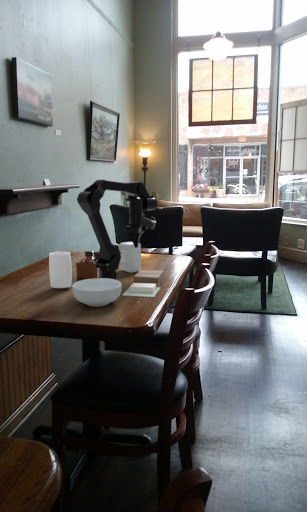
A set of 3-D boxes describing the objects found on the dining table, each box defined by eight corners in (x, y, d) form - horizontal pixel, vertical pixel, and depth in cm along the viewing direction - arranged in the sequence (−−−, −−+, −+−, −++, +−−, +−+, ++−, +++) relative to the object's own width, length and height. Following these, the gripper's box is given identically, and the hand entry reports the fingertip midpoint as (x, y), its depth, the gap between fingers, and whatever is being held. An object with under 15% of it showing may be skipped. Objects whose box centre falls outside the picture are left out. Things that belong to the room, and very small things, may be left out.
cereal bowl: (63, 303, 147) (62, 283, 146) (101, 294, 159) (101, 275, 158) (92, 314, 135) (92, 292, 134) (131, 303, 147) (131, 283, 146)
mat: (153, 297, 154) (153, 296, 154) (121, 295, 156) (121, 295, 156) (160, 287, 168) (160, 287, 168) (131, 286, 170) (131, 285, 170)
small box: (141, 271, 198) (141, 243, 196) (130, 272, 194) (130, 244, 192) (131, 268, 205) (130, 241, 202) (120, 270, 201) (119, 242, 198)
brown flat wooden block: (158, 287, 168) (158, 277, 167) (133, 286, 170) (133, 276, 169) (164, 279, 181) (164, 270, 181) (141, 278, 183) (141, 269, 182)
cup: (50, 292, 162) (48, 255, 159) (49, 286, 170) (48, 251, 167) (73, 290, 164) (71, 254, 162) (71, 285, 172) (70, 250, 170)
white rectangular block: (156, 283, 165) (156, 288, 165) (133, 282, 166) (133, 287, 167) (153, 287, 159) (153, 292, 159) (129, 286, 161) (130, 291, 161)
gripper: (150, 213, 171) (150, 251, 174) (158, 210, 189) (158, 244, 192) (123, 213, 173) (124, 251, 176) (134, 209, 191) (134, 244, 194)
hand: (136, 247), depth 184 cm, fingers closed
